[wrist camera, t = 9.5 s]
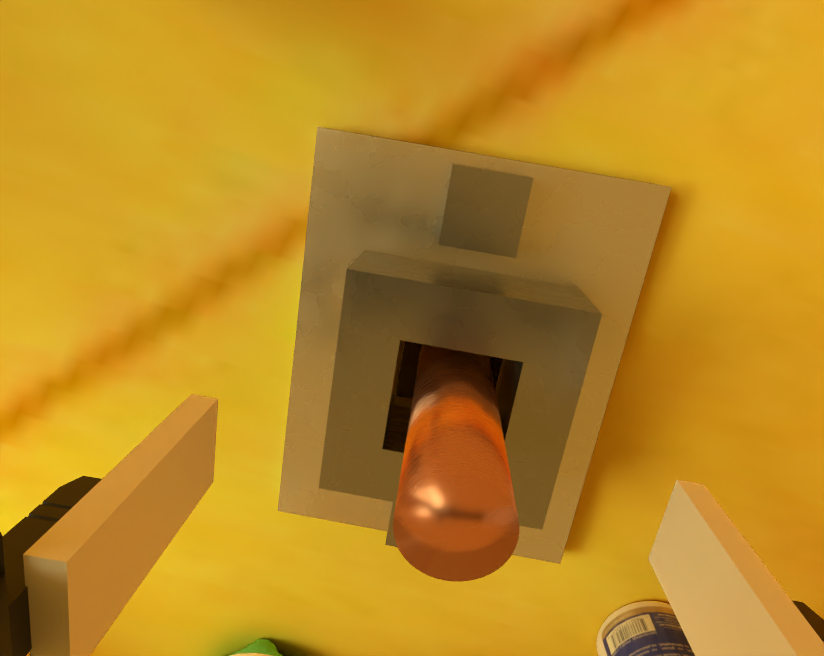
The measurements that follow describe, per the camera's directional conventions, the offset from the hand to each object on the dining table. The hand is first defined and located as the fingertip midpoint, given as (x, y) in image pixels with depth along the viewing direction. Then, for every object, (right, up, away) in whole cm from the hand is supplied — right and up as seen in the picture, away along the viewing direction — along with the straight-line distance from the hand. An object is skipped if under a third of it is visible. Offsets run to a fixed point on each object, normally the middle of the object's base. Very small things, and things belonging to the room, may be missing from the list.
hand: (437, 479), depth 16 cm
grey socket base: (+1, +3, +10) cm, 10 cm away
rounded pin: (+1, +3, +10) cm, 10 cm away
